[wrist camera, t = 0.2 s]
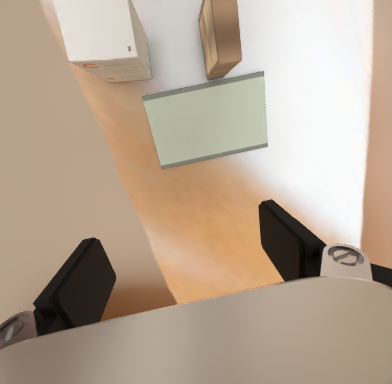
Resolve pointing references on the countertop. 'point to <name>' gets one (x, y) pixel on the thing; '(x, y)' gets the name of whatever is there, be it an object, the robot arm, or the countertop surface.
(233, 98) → the mat
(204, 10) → the slab
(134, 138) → the countertop surface
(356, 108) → the countertop surface
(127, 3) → the small box
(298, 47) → the countertop surface
